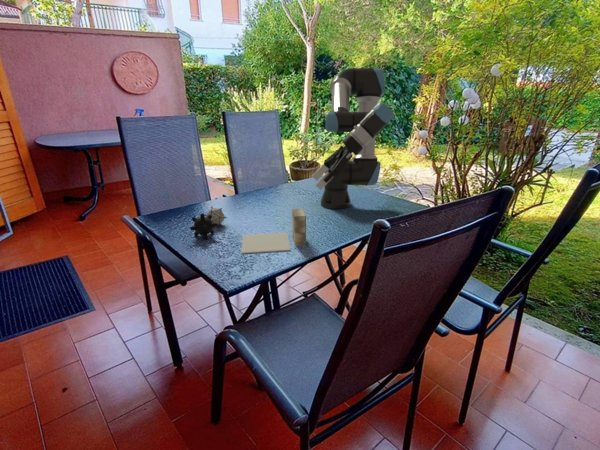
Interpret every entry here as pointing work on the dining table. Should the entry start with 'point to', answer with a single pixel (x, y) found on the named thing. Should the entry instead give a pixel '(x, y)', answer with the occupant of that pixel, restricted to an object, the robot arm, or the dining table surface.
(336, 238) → the dining table surface
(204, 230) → the toy ball
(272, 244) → the mat
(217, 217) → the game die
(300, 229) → the green and tan block
